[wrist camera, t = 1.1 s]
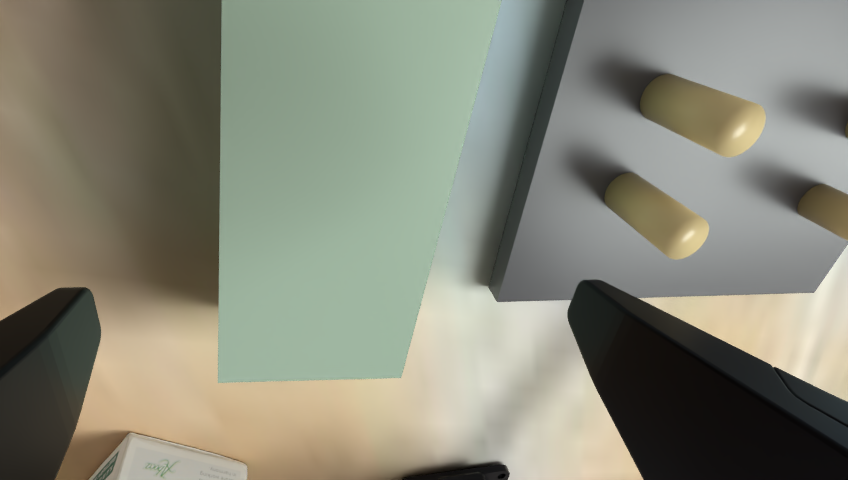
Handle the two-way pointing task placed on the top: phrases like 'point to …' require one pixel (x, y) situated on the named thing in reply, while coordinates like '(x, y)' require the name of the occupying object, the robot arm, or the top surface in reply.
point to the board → (337, 176)
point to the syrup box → (166, 462)
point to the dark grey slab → (684, 152)
